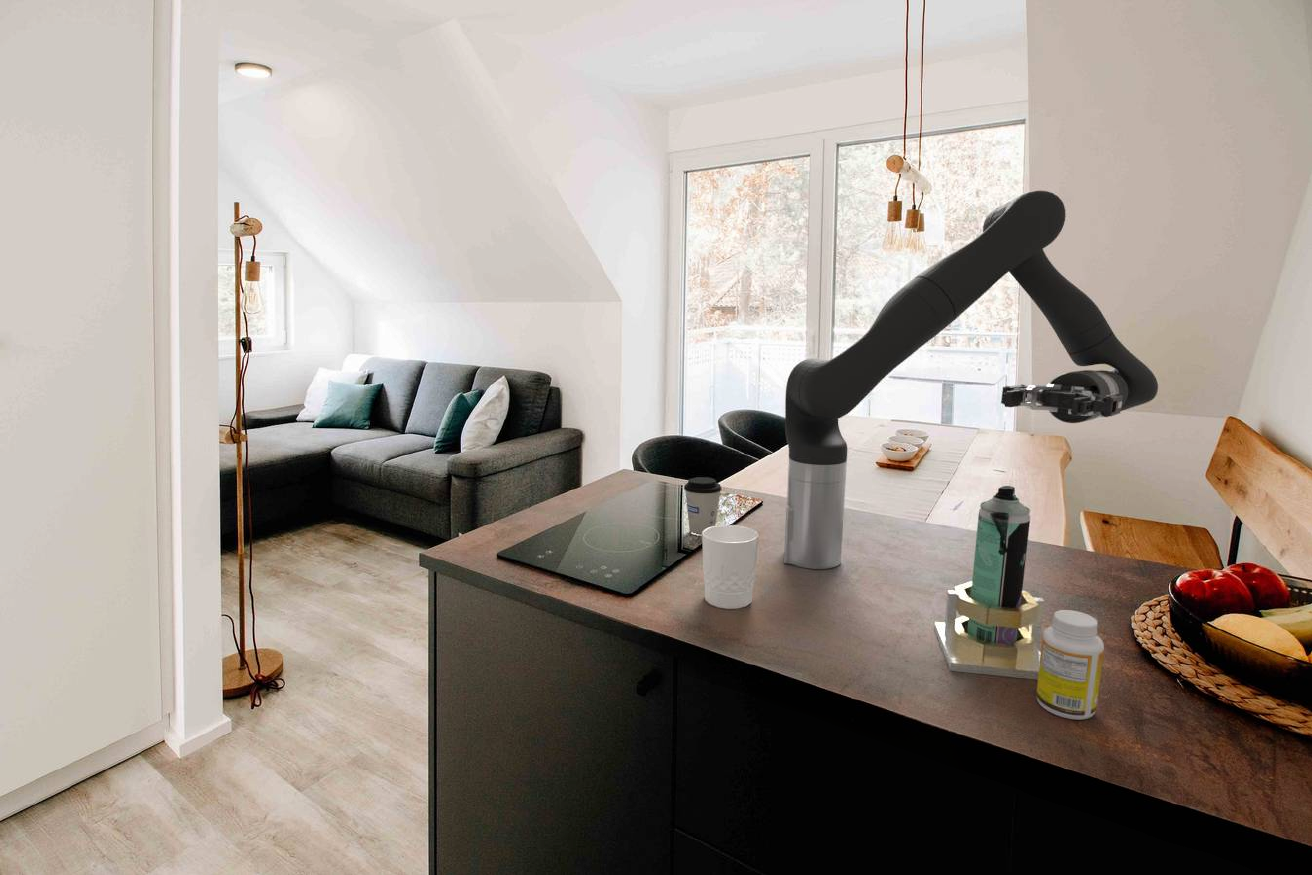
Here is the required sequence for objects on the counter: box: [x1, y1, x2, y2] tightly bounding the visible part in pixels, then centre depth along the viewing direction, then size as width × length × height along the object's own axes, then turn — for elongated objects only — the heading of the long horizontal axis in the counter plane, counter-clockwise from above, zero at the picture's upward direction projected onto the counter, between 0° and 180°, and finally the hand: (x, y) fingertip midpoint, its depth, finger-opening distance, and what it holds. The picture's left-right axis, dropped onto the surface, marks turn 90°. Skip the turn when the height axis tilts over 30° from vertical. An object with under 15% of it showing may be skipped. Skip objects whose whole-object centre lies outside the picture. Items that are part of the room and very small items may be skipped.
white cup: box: [701, 524, 759, 610], centre depth 101 cm, size 8×8×10 cm
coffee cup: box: [683, 476, 722, 534], centre depth 131 cm, size 7×7×10 cm
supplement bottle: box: [1035, 609, 1105, 721], centre depth 74 cm, size 6×6×10 cm
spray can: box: [967, 485, 1031, 644], centre depth 85 cm, size 6×6×20 cm
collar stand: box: [933, 580, 1045, 681], centre depth 86 cm, size 11×11×8 cm
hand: (1040, 403), depth 95 cm, fingers open, 8 cm apart
